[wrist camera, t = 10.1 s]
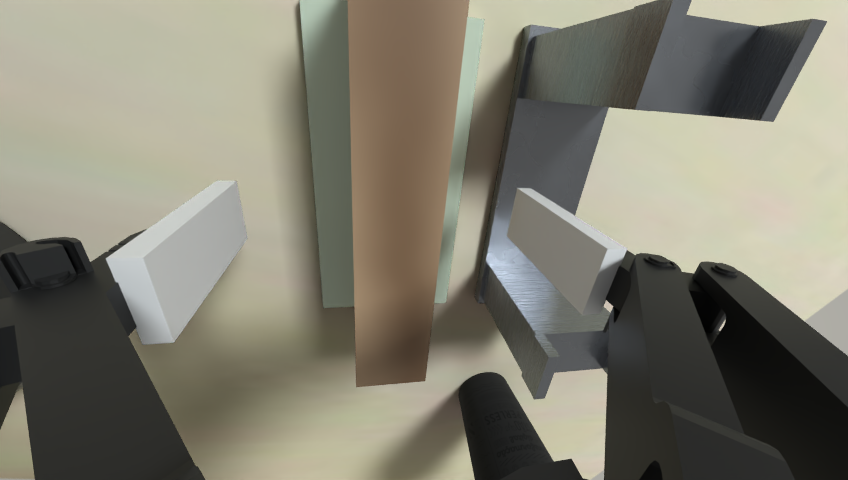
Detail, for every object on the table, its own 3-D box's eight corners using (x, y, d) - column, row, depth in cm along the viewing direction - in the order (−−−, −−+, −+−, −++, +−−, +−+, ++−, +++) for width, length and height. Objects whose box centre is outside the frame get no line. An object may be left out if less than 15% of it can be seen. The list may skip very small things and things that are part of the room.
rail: (358, 317, 23) (356, 387, 18) (352, -26, 14) (345, -89, 9) (411, 314, 24) (425, 381, 18) (437, -13, 15) (476, -65, 10)
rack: (474, 296, 25) (530, 405, 16) (524, 27, 17) (679, -28, 9) (543, 294, 26) (628, 395, 18) (619, 39, 18) (840, 2, 10)
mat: (324, 302, 23) (323, 308, 22) (301, -3, 15) (299, -6, 14) (444, 298, 24) (445, 302, 24) (480, 21, 16) (484, 19, 16)
